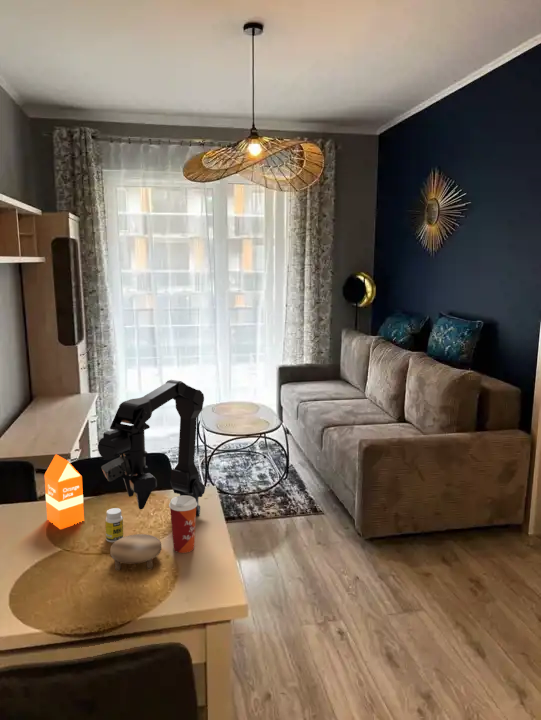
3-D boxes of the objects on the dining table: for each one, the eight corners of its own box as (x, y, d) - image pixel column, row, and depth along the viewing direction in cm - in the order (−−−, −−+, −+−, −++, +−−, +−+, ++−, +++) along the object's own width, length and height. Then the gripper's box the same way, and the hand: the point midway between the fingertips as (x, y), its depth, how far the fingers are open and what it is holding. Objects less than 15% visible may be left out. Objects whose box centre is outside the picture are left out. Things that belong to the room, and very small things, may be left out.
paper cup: (192, 556, 148) (191, 507, 146) (165, 553, 150) (164, 504, 147) (201, 542, 156) (201, 495, 153) (176, 539, 157) (175, 493, 155)
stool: (116, 548, 152) (115, 534, 151) (164, 547, 153) (163, 533, 152) (106, 574, 139) (105, 560, 138) (158, 573, 140) (158, 558, 139)
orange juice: (71, 511, 173) (67, 451, 170) (84, 521, 167) (81, 458, 164) (46, 519, 168) (42, 457, 164) (59, 529, 162) (56, 465, 158)
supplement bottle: (114, 544, 154) (113, 516, 152) (102, 539, 156) (101, 512, 155) (126, 537, 158) (126, 509, 156) (115, 533, 160) (114, 505, 159)
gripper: (94, 442, 152) (97, 496, 155) (113, 464, 136) (116, 523, 139) (134, 436, 158) (136, 488, 161) (156, 456, 142) (158, 513, 145)
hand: (135, 502), depth 151 cm, fingers open, 9 cm apart
